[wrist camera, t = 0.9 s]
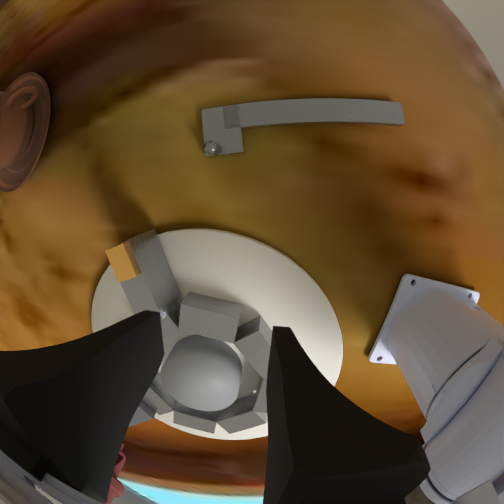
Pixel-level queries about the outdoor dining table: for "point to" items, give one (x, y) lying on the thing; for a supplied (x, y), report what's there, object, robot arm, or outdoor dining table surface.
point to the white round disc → (254, 304)
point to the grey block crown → (192, 331)
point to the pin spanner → (289, 118)
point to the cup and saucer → (22, 128)
